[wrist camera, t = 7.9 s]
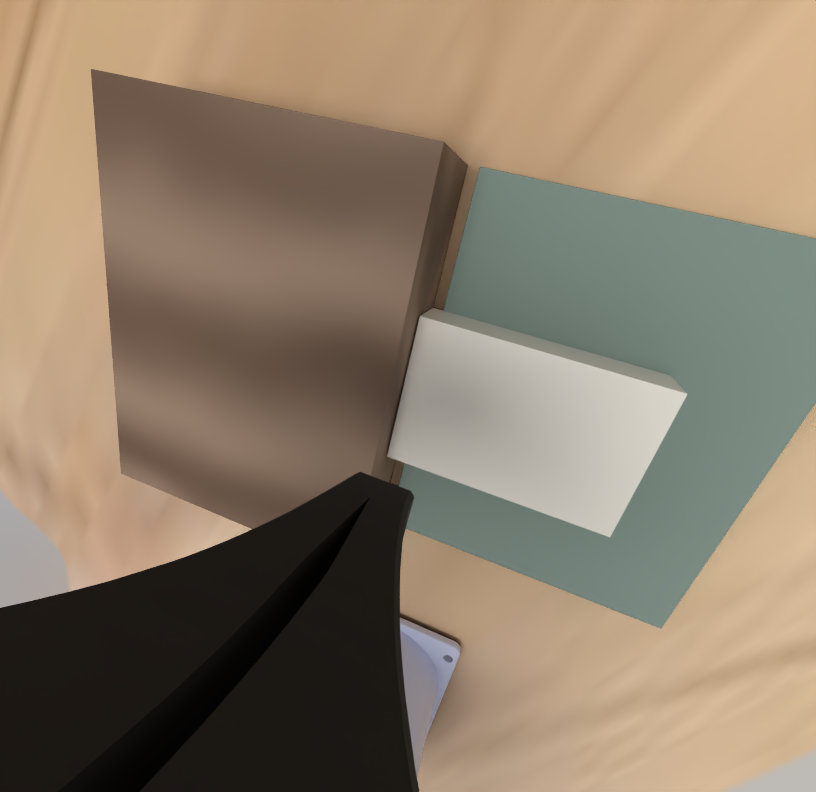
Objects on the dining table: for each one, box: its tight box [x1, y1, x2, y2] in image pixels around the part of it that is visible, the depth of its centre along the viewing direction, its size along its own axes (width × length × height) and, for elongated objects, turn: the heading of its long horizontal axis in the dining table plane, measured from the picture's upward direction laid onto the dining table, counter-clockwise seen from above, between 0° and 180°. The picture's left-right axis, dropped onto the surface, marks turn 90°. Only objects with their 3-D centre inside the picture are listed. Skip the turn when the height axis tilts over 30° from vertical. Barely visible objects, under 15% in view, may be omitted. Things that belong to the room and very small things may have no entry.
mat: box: [399, 167, 816, 628], centre depth 17 cm, size 16×13×1 cm
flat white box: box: [387, 308, 687, 537], centre depth 16 cm, size 6×9×2 cm, turn 78°
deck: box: [91, 69, 468, 529], centre depth 17 cm, size 16×12×4 cm
